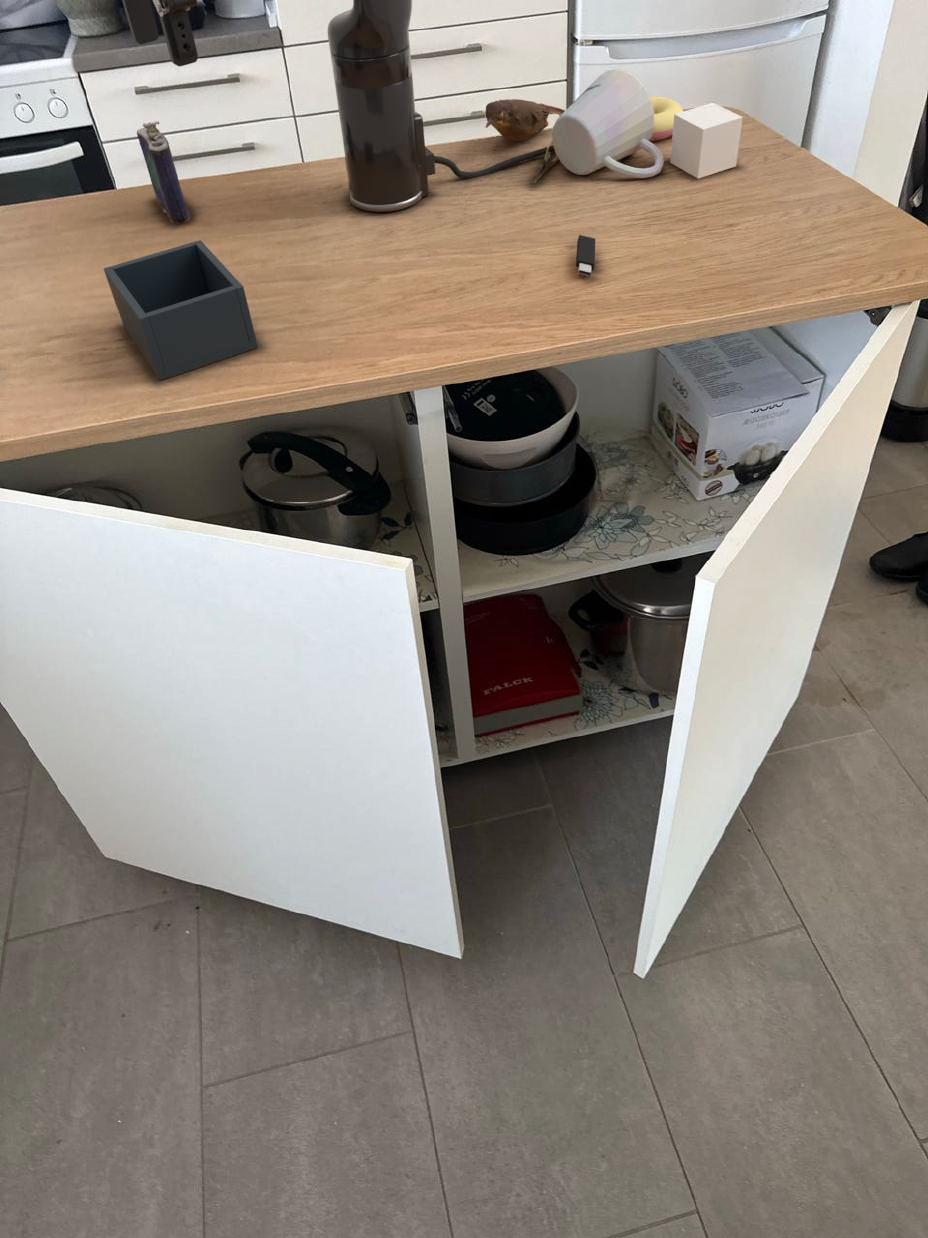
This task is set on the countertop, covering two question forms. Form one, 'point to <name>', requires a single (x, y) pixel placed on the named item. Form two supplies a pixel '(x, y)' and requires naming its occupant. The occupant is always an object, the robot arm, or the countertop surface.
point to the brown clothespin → (544, 167)
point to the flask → (163, 172)
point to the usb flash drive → (585, 255)
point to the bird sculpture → (519, 117)
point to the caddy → (182, 308)
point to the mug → (607, 127)
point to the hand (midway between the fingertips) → (166, 51)
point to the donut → (664, 117)
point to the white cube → (705, 140)
